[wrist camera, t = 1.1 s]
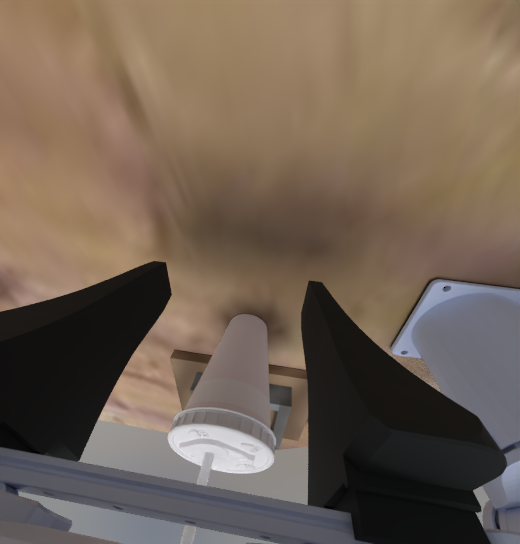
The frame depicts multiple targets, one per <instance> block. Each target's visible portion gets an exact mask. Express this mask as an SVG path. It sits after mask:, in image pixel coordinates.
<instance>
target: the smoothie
mask: <svg viewBox="0 0 520 544" xmlns="http://www.w3.org/2000/svg"><path fill="white" fill-rule="evenodd" d="M168 442H169V444H170V446H171V447H172V449H173V450H174V451H175V452H176V453H178V454H179V455H180V456H182V457H184V458H185V459H187V460H189V461H191V462H193V463H195V464H197V465H200V466H201V469H200V473H199V477H198V481H197V484H198V485H204V486H207V483H208V479H209V475H210V471H211V469H213V470H217V471H223V472H229V473H244V474H245V473H255V472H260V471H263V470H265V469H267V468H268V467H270V466H271V465H272V464H273V462H274V451H275V446H276V437H275V435H274V433H273V431H272V430H271V429H270V396H269V368H268V339H267V326H266V324H265V323H264V322H263V321H262V320H261V319H260V318H258V317H256V316H254V315H250V314H240V315H237V316H235V317H234V318H232V319H231V321H230V323H229V325H228V327H227V328H226V330H225V332H224V334H223V336H222V338H221V340H220V342H219V344H218V346H217V348H216V350H215V351H214V353H213V355H212V357H211V359H210V361H209V363H208V365H207V367H206V369H205V371H204V373H203V374H202V376H201V378H200V380H199V382H198V384H197V386H196V388H195V389H194V391H193V393H192V395H191V397H190V399H189V401H188V403H187V405H186V407H185V409H184V410H183V411H181V412H179V413H178V414H177V415H176V416H175V418H174V422H173V425H172V427H171V430H170V432H169V434H168ZM196 529H197V527H195V526H190V525H185V528H184V532H183V535H182V539H181V542H180V544H193V541H194V537H195V533H196Z"/></svg>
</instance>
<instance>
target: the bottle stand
mask: <svg viewBox="0 0 520 544" xmlns="http://www.w3.org/2000/svg"><path fill="white" fill-rule="evenodd" d="M211 357H212V356H209V355H203V354H196V353H190V352H184V351H177V350H174V352H173V354H172V355H171V357H170V359H171V364H172V368H173V372H174V376H175V381H176V385H177V389H178V394H179V398H180V402H181V407H182V411H183V410H184V409H185V407H186V405H187V403H188V401H189V399H190V397H191V395H192V393H193V391H194V389H195V388H196V386H197V384H198V382H199V380H200V378H201V376H202V374H203V373H204V371H205V369H206V367H207V365H208V363H209V361H210V359H211ZM268 368H269V396H270V429H271V430H272V431H273V433H274V435H275V437H276V446H275V449H278V450H279V447H280V444H281V441H282V438H286V439H291V440H297V441H298V440H299V438H300V435H301V433H302V430H303V428H304V425H305V423H306V420H307V418H308V383H307V372H306V371H305V370H299V369H292V368H286V367H280V366H273V365H268Z"/></svg>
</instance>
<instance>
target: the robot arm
mask: <svg viewBox="0 0 520 544" xmlns="http://www.w3.org/2000/svg"><path fill="white" fill-rule="evenodd" d="M445 286H447V287H446V288H444V287H445ZM171 295H172V293H171V288H170V282H169V277H168V271H167V266H166V262H158V261H153V262H150V263H147V264H144V265H142V266H139V267H137V268H134V269H132V270H130V271H127V272H125V273H123V274H120V275H118V276H116V277H113V278H111V279H108V280H106V281H103V282H100V283H98V284H95V285H93V286H90V287H87V288H85V289H82V290H79V291H76V292H73V293H70V294H67V295H64V296H60V297H57V298H54V299H50V300H46V301H43V302H39V303H35V304H31V305H27V306H23V307H20V308H15V309H11V310H6V311H2V312H0V544H121V543H117V542H113V541H108V540H104V539H99V538H95V537H91V536H85V535H81V534H76V533H72V532H68V531H69V529H70V528H71V526H72V521H71V520H69V519H67V518H64V517H62V516H60V515H58V514H56V513H54V512H52V511H50V510H48V509H47V508H45V507H44V506H43V505H41V504H40V503H39V502H37V501H34V500H31V499H28V498H24V497H21V496H19V495H18V491H21V492H25V493H30V494H35V495H40V496H45V497H50V498H55V499H60V500H65V501H70V502H75V503H80V504H86V505H91V506H95V507H100V508H105V509H110V510H115V511H120V512H125V513H130V514H135V515H140V516H145V517H150V518H155V519H160V520H165V521H170V522H175V523H180V524H185V525H190V526H195V527H200V528H205V529H210V530H215V531H219V532H225V533H229V534H234V535H239V536H244V537H250V538H255V539H259V540H264V541H270V542H274V543H279V544H520V289H514V288H506V287H498V286H490V285H482V284H474V283H466V282H458V281H450V280H442V279H437V280H434V281H432V282H431V283H430V284H429V286H428V287H427V289H426V291H425V292H424V294H423V296H422V297H421V299H420V301H419V302H418V304H417V306H416V307H415V309H414V311H413V312H412V314H411V315H410V317H409V319H408V320H407V322H406V324H405V325H404V327H403V329H402V330H401V332H400V334H399V335H398V337H397V339H396V340H395V342H394V344H393V345H392V347H391V351H392V353H393V354H394V355H399V356H406V357H413V358H419V359H422V360H423V361H424V363H425V365H426V366H427V368H428V370H429V371H430V373H431V375H432V376H433V378H434V380H435V381H436V383H437V385H438V386H439V388H440V390H441V392H442V393H443V394H442V393H440V392H439V391H437V390H436V389H434V388H433V387H431V386H430V385H428V384H427V383H426V382H424V381H423V380H421V379H420V378H418V377H417V376H416V375H414V374H413V373H411V372H410V371H409V370H407V369H406V368H405V367H403V366H402V365H401V364H400V363H398V362H397V361H396V360H395V359H393V358H392V357H391V356H390V355H388V354H387V353H386V352H385V351H384V350H382V349H381V348H380V347H379V346H378V345H377V344H376V343H374V342H373V341H372V340H371V339H370V338H369V337H368V336H367V335H366V334H365V333H364V332H363V331H362V330H361V329H360V328H359V327H358V326H357V325H356V324H355V323H354V322H353V321H352V320H351V319H350V318H349V316H348V315H347V314H346V313H345V312H344V311H343V309H342V308H341V307H340V306H339V305H338V303H337V302H336V301H335V299H334V298H333V297H332V295H331V294H330V293H329V291H328V290H327V289H326V287H325V286H324V285H323V283H322V282H315V281H309V283H308V287H307V291H306V295H305V299H304V304H303V308H302V312H301V331H302V340H303V348H304V356H305V364H306V372H307V383H308V449H309V450H308V452H309V453H308V454H309V455H308V457H309V459H308V460H309V461H308V462H309V463H308V465H309V466H308V505H304V504H299V503H294V502H288V501H282V500H278V499H272V498H267V497H262V496H257V495H251V494H246V493H241V492H235V491H230V490H225V489H219V488H214V487H208V486H204V485H198V484H193V483H187V482H182V481H177V480H171V479H167V478H161V477H156V476H151V475H145V474H140V473H135V472H129V471H124V470H119V469H114V468H108V467H103V466H97V465H92V464H87V463H82V462H78V461H79V460H80V458H81V455H82V453H83V451H84V448H85V446H86V444H87V442H88V440H89V437H90V435H91V433H92V431H93V429H94V426H95V424H96V422H97V420H98V418H99V416H100V414H101V412H102V410H103V408H104V406H105V404H106V402H107V400H108V398H109V396H110V394H111V392H112V390H113V388H114V386H115V385H116V383H117V381H118V379H119V377H120V375H121V373H122V372H123V370H124V368H125V367H126V365H127V363H128V361H129V360H130V358H131V356H132V355H133V353H134V352H135V350H136V349H137V347H138V346H139V344H140V343H141V341H142V340H143V339H144V337H145V336H146V335H147V333H148V332H149V330H150V329H151V328H152V326H153V325H154V324H155V322H156V321H157V319H158V318H159V316H160V315H161V314H162V312H163V311H164V309H165V307H166V305H167V303H168V301H169V299H170V297H171ZM480 486H483V488H484V490H485V492H486V494H487V495H488V497H489V499H490V500H489V501H488V502H487V503H486V504H485V507H484V509H483V527H484V529H483V527H482V525H481V523H480V521H479V519H478V517H477V515H476V513H475V512H477V513H478V512H481V506H480V504H479V502H478V500H477V498H476V496H475V494H474V492H473V490H474V489H476V488H478V487H480ZM246 544H259V543H246Z"/></svg>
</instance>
